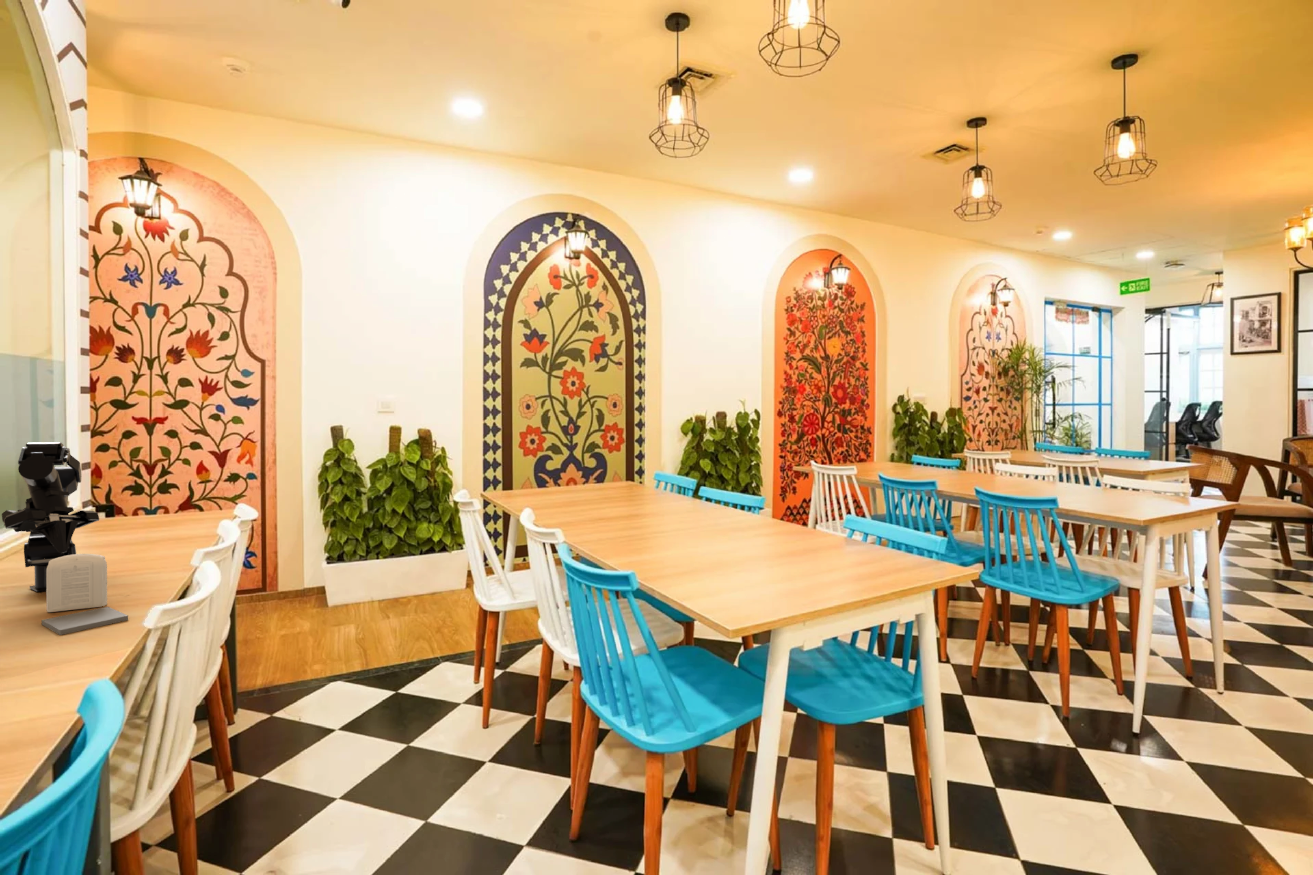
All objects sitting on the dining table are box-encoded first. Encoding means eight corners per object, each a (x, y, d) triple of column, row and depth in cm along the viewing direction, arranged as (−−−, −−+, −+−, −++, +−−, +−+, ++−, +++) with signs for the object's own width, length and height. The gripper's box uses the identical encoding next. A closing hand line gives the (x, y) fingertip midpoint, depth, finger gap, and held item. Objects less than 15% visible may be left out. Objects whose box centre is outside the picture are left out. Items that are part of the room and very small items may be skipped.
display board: (41, 624, 131) (41, 619, 131) (108, 610, 141) (108, 606, 141) (59, 634, 125) (59, 630, 125) (128, 620, 135) (128, 615, 135)
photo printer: (109, 602, 147) (108, 550, 146) (105, 607, 143) (105, 553, 143) (49, 609, 141) (48, 555, 141) (44, 614, 138) (43, 558, 137)
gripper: (48, 505, 159) (64, 563, 157) (-29, 502, 140) (-12, 568, 138) (92, 489, 160) (109, 546, 158) (21, 483, 141) (39, 548, 139)
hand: (63, 552), depth 148 cm, fingers closed
